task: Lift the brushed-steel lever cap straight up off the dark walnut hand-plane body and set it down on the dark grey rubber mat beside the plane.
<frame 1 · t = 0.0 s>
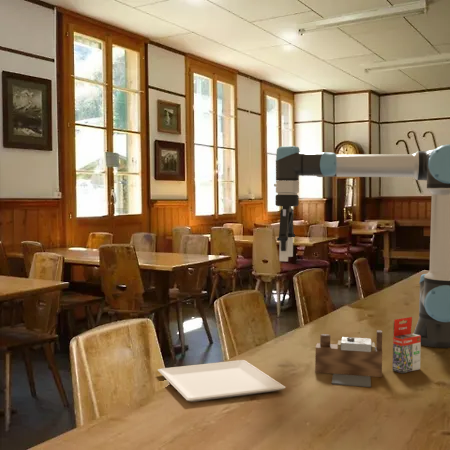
hand: (286, 258, 202), 28 cm above the table, fingers open, 13 cm apart
lever cap: (356, 347, 171), point 7 cm above the table, touching plane body
plate: (218, 385, 161), on the table
plane body: (348, 371, 172), on the table
rubber mat: (351, 380, 164), on the table
ink box: (406, 370, 174), on the table
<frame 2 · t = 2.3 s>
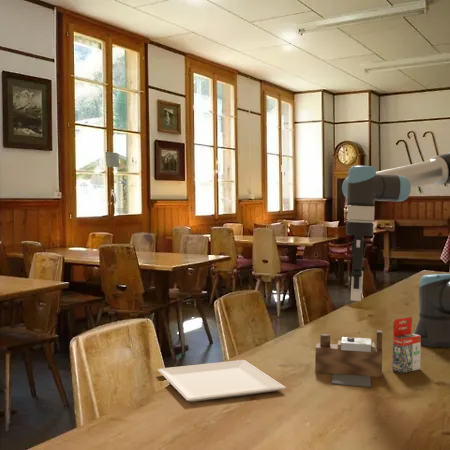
hand: (356, 296, 173), 21 cm above the table, fingers open, 13 cm apart
nothing on the table moved.
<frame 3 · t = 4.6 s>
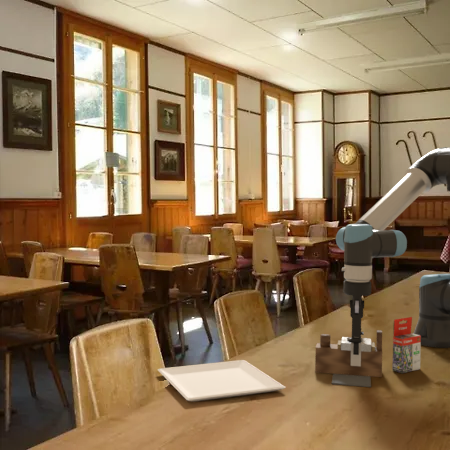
hand: (355, 361, 171), 3 cm above the table, fingers closed on lever cap, 7 cm apart
lever cap: (356, 347, 171), point 7 cm above the table, touching gripper, plane body
everything else where it was.
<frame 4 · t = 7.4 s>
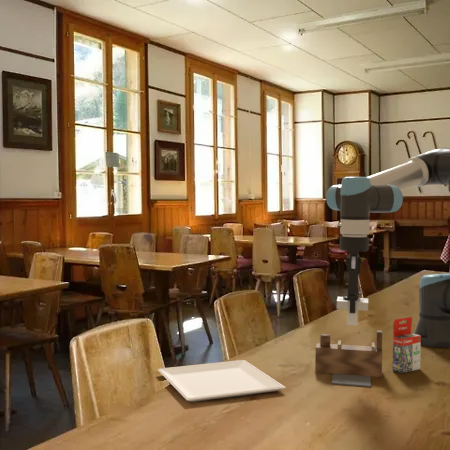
hand: (352, 321, 163), 16 cm above the table, fingers closed on lever cap, 7 cm apart
lever cap: (352, 307, 163), point 20 cm above the table, touching gripper
everything else where it was.
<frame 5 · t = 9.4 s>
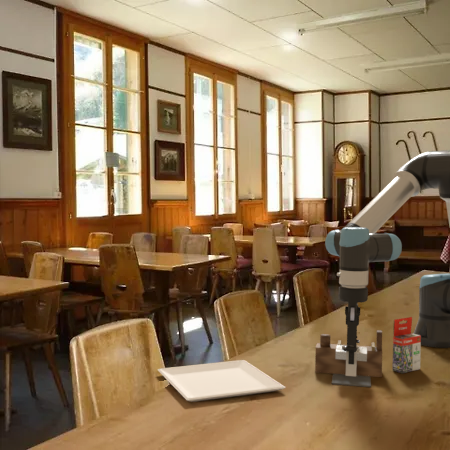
hand: (351, 371, 164), 3 cm above the table, fingers closed on lever cap, 7 cm apart
lever cap: (351, 356, 164), point 7 cm above the table, touching gripper
everything else where it was.
when the fingers open (1 cm above the table, at t = 10.4 s): lever cap drops 5 cm, resting on rubber mat.
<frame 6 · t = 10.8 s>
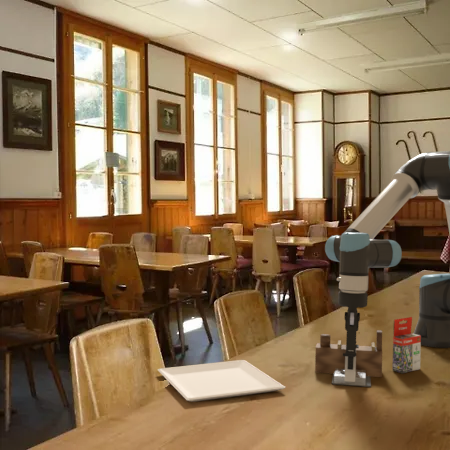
hand: (350, 376, 163), 2 cm above the table, fingers open, 8 cm apart
lever cap: (349, 380, 163), resting on rubber mat, touching gripper
everything else where it was.
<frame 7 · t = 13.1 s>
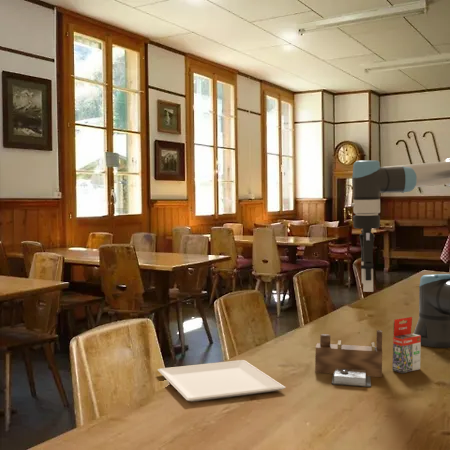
hand: (367, 287, 179), 23 cm above the table, fingers open, 13 cm apart
lever cap: (349, 380, 163), resting on rubber mat
everything else where it was.
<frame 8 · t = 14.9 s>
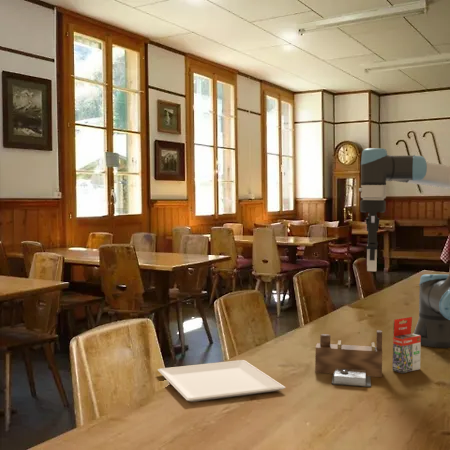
hand: (371, 268, 190), 27 cm above the table, fingers open, 13 cm apart
nothing on the table moved.
at the end: lever cap inside the target area on the rubber mat (1.1 cm from its centre), point 0.4 cm above the rubber mat's base; lever cap touching rubber mat; the gripper is holding nothing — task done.
